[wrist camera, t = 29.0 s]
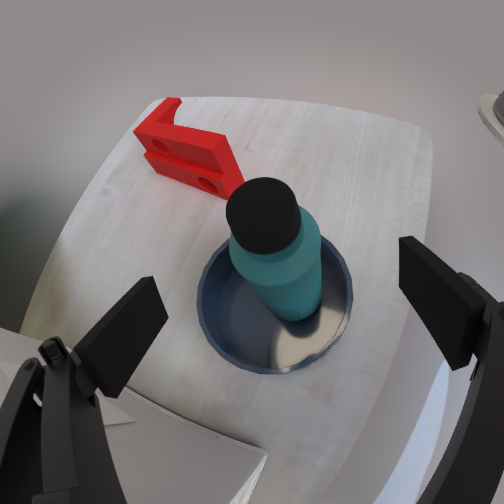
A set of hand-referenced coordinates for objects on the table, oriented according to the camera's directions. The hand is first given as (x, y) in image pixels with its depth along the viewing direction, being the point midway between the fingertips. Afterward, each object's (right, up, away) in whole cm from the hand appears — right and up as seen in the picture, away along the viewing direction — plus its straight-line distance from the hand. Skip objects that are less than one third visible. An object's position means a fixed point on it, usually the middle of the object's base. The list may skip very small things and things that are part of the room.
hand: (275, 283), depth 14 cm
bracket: (-9, +17, +32) cm, 37 cm away
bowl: (+2, -5, +19) cm, 20 cm away
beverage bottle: (+4, -4, +18) cm, 19 cm away
